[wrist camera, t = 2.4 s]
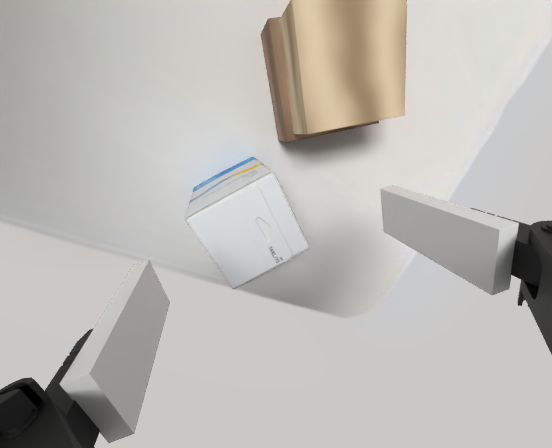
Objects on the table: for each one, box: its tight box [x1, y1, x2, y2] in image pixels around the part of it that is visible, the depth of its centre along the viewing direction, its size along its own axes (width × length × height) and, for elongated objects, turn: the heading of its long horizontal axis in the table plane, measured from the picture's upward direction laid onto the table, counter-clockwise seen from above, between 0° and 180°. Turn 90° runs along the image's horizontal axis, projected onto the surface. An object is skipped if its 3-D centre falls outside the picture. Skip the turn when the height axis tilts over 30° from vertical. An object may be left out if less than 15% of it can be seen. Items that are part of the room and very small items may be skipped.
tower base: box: [261, 17, 379, 142], centre depth 28 cm, size 11×11×4 cm
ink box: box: [185, 157, 309, 289], centre depth 27 cm, size 9×8×12 cm
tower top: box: [279, 0, 407, 134], centre depth 24 cm, size 10×10×4 cm
